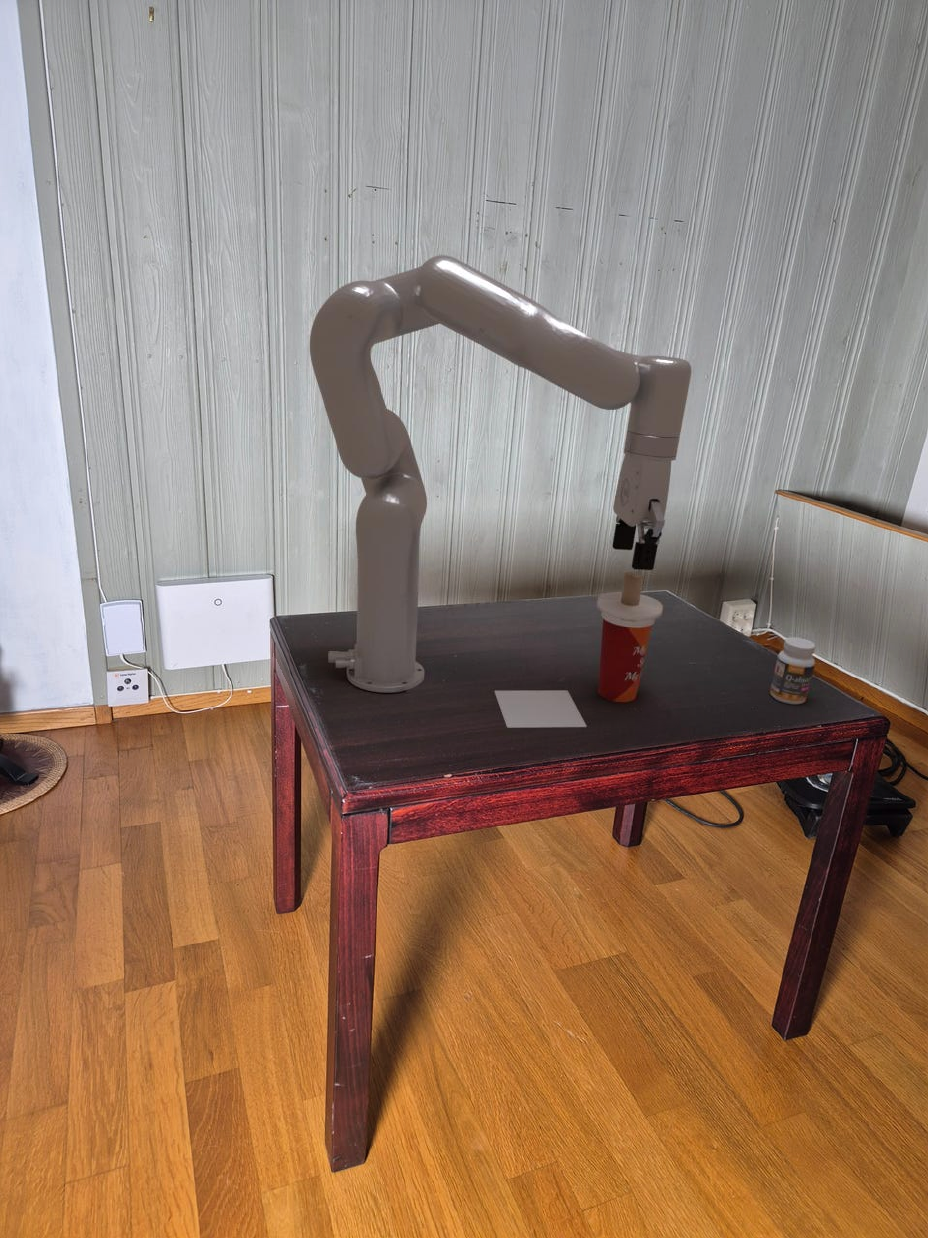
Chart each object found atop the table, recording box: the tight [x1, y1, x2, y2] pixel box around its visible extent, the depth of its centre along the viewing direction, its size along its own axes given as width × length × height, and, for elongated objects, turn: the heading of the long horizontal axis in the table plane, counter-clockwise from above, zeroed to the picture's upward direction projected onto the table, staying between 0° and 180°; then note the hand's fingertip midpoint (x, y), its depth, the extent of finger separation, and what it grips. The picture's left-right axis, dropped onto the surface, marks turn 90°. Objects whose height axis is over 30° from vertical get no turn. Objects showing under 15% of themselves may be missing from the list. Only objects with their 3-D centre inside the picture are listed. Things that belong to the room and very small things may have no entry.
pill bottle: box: [769, 636, 816, 705], centre depth 137 cm, size 6×6×10 cm
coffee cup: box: [598, 611, 656, 703], centre depth 133 cm, size 8×8×15 cm
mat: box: [494, 689, 588, 729], centre depth 129 cm, size 12×12×1 cm
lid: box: [596, 571, 664, 621], centre depth 129 cm, size 10×10×6 cm
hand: (631, 558), depth 127 cm, fingers open, 9 cm apart
